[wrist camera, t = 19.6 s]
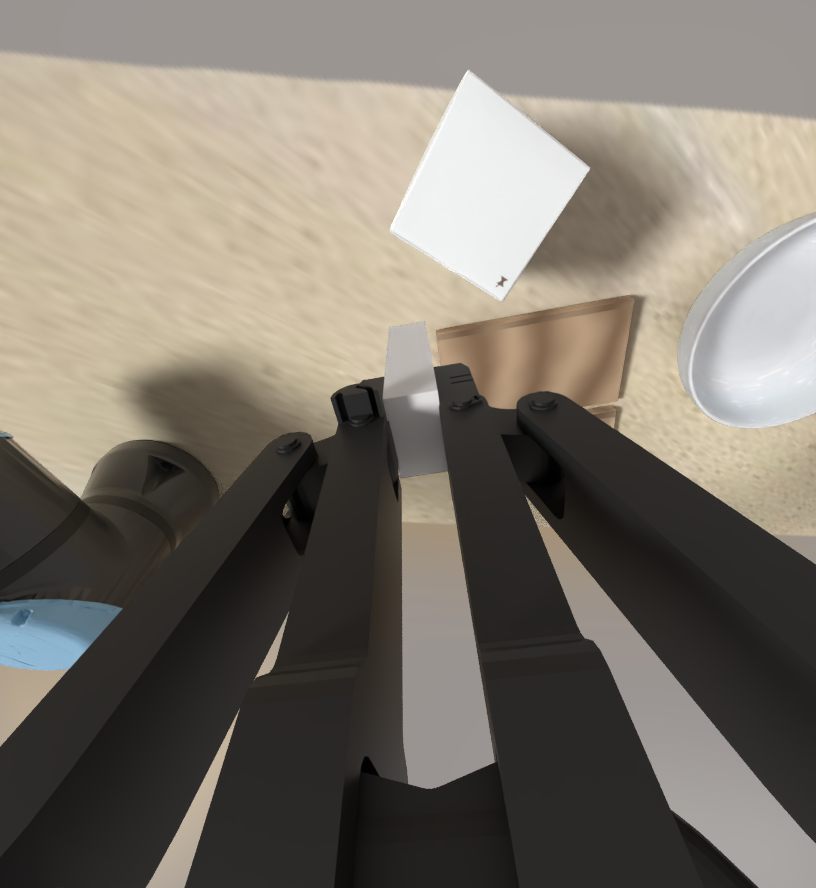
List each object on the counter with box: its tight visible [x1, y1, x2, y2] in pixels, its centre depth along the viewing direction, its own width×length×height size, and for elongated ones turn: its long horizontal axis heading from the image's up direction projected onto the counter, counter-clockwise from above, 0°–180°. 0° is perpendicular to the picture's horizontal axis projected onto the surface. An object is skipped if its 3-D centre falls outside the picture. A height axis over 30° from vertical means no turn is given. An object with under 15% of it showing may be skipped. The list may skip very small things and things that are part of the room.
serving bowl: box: [677, 212, 816, 429], centre depth 39 cm, size 21×21×7 cm
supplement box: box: [390, 70, 590, 302], centre depth 30 cm, size 9×9×15 cm
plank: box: [436, 295, 635, 409], centre depth 44 cm, size 20×12×1 cm, turn 100°
